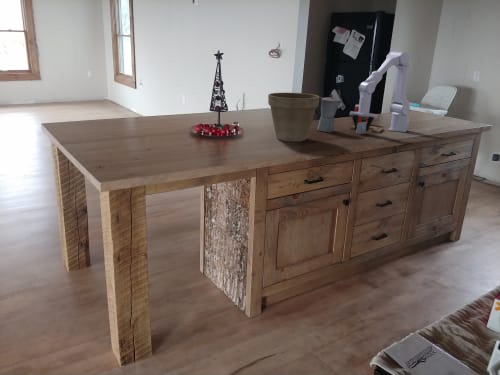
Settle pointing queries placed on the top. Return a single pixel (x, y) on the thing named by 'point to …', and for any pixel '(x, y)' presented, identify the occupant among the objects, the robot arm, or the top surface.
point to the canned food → (361, 119)
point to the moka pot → (327, 113)
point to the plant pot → (292, 114)
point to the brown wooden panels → (374, 129)
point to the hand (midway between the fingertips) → (361, 130)
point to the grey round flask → (361, 128)
